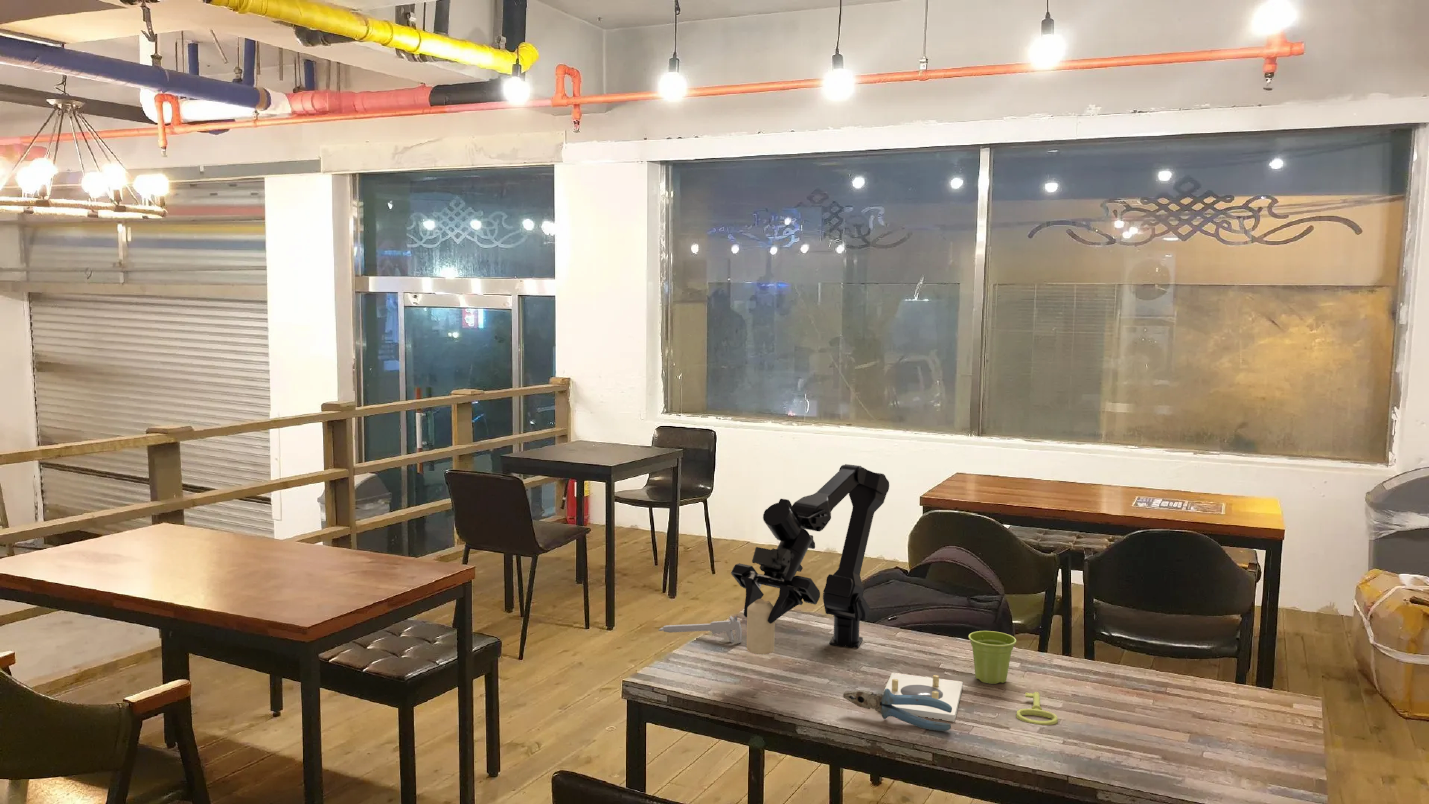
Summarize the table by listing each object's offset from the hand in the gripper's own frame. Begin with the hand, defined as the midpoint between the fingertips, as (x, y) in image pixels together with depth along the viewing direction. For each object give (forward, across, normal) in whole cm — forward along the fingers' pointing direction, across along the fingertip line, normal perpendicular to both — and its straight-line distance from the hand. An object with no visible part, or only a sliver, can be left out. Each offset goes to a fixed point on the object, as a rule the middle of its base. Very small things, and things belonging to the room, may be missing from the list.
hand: (757, 619), depth 200 cm
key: (-6, +48, +26) cm, 55 cm away
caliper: (-1, -27, +21) cm, 34 cm away
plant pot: (-14, +34, +34) cm, 50 cm away
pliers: (+8, +30, +11) cm, 33 cm away
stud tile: (-1, +28, +20) cm, 35 cm away
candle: (+4, 0, +6) cm, 7 cm away
